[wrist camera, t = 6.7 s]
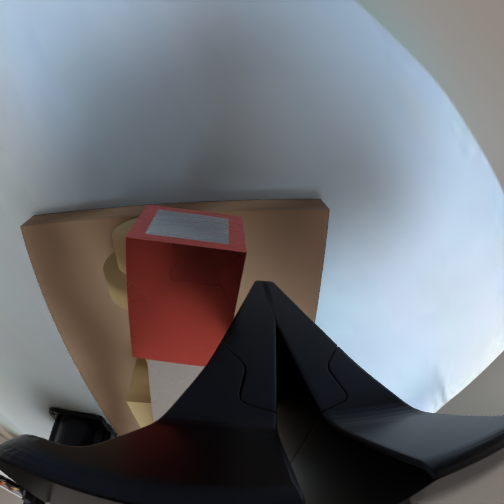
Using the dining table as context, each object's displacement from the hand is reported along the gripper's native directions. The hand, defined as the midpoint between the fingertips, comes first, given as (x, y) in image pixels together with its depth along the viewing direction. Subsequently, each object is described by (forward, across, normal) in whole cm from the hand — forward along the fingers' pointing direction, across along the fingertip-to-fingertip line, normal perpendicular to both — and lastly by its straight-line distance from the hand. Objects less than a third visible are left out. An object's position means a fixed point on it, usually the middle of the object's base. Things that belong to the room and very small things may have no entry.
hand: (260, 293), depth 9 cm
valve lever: (+1, +3, +5) cm, 6 cm away
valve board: (+7, +3, +11) cm, 13 cm away
